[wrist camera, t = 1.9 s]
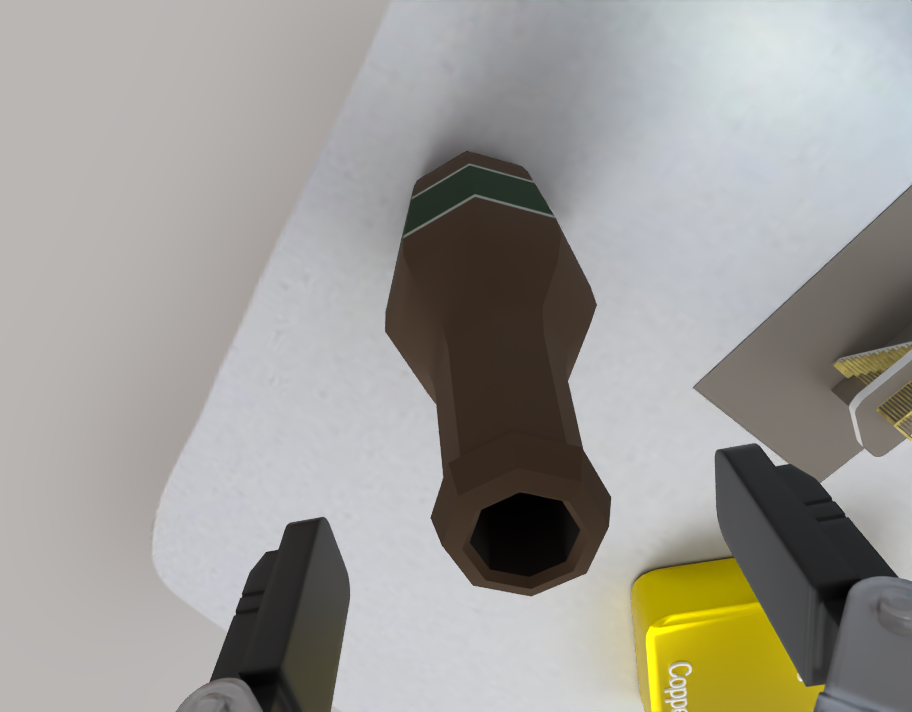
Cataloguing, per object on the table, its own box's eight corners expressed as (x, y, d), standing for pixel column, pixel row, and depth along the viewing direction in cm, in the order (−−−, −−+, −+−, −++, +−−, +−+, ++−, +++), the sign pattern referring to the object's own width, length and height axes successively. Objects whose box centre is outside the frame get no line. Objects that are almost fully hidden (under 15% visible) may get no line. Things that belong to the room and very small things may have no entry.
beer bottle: (372, 236, 34) (252, 572, 13) (462, 113, 32) (498, 279, 10) (486, 317, 37) (545, 720, 15) (578, 209, 34) (810, 510, 12)
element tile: (627, 570, 45) (646, 626, 41) (845, 538, 44) (888, 591, 40) (640, 706, 52) (657, 767, 48) (830, 681, 51) (865, 740, 47)
